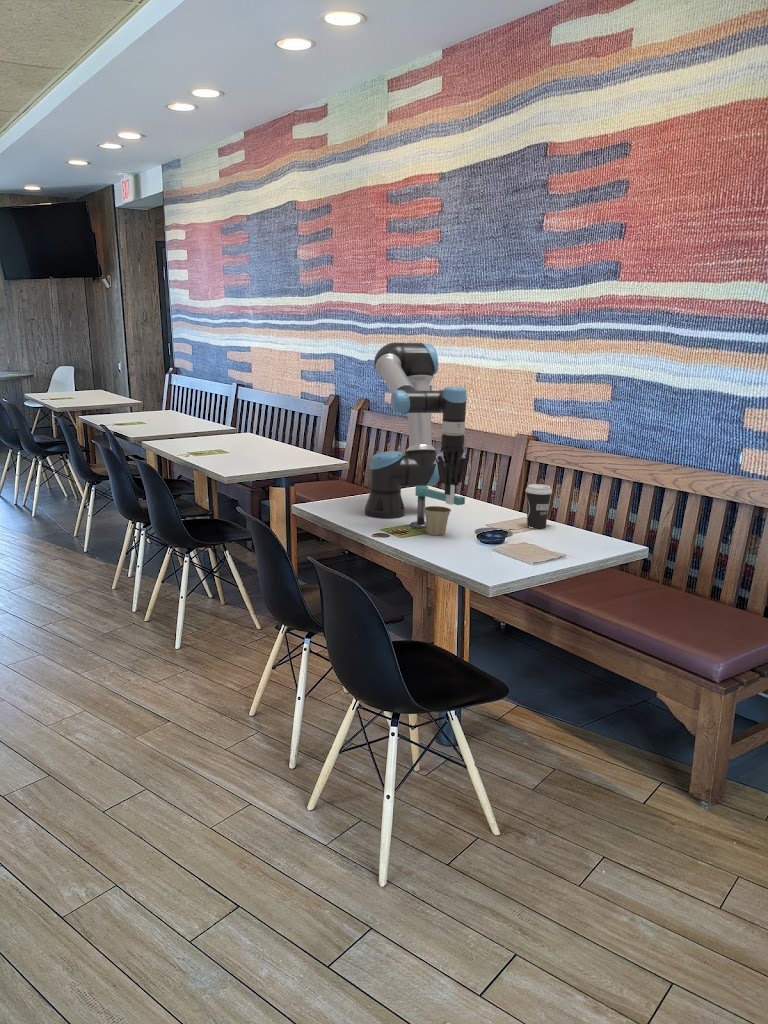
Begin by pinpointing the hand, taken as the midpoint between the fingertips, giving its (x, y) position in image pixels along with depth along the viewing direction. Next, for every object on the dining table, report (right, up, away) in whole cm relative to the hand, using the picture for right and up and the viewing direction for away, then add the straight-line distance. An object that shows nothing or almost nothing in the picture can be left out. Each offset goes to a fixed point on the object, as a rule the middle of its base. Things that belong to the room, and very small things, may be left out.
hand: (449, 503), depth 279 cm
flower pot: (-4, -10, +7) cm, 13 cm away
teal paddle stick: (-3, +2, +7) cm, 8 cm away
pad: (+16, -10, +9) cm, 21 cm away
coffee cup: (+33, -8, +20) cm, 39 cm away
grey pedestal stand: (-9, -8, +16) cm, 20 cm away
